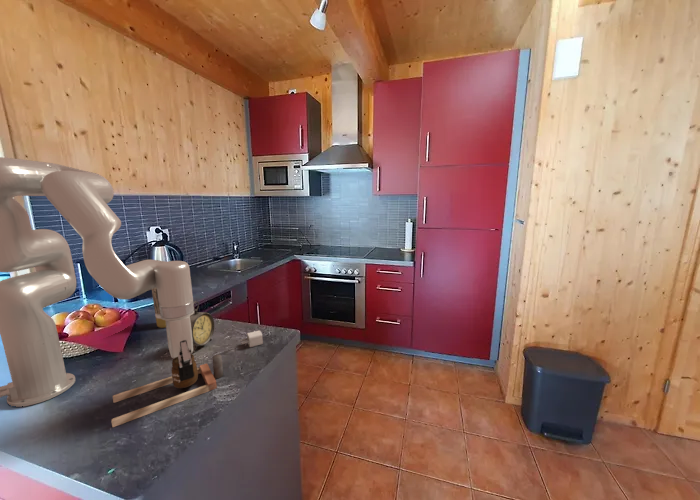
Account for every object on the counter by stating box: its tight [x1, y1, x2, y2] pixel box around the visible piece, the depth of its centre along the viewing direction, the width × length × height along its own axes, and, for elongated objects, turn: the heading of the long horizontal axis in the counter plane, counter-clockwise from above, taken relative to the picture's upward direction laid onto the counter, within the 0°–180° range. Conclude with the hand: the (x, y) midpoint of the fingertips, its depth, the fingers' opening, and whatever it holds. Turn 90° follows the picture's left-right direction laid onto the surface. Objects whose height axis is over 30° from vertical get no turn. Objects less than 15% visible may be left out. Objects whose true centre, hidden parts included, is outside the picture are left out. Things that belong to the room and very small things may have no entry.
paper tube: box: [151, 287, 166, 329], centre depth 115 cm, size 7×7×25 cm
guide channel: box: [110, 354, 224, 428], centre depth 77 cm, size 25×11×6 cm, turn 127°
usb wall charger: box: [239, 329, 264, 348], centre depth 101 cm, size 4×7×4 cm, turn 121°
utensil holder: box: [171, 353, 199, 389], centre depth 78 cm, size 6×6×12 cm
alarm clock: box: [190, 300, 215, 354], centre depth 99 cm, size 11×5×16 cm, turn 168°
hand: (184, 372), depth 78 cm, fingers closed on utensil holder, 5 cm apart
